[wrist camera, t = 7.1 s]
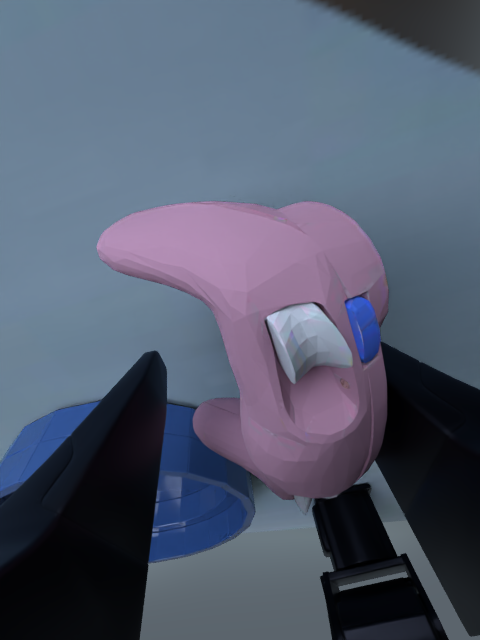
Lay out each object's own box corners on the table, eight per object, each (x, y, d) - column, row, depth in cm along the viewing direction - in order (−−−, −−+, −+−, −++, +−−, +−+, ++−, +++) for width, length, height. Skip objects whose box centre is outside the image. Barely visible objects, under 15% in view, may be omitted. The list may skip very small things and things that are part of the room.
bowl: (219, 371, 16) (223, 439, 12) (260, 486, 27) (268, 540, 23) (-54, 429, 17) (-127, 512, 13) (94, 519, 27) (76, 578, 24)
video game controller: (264, 375, 14) (386, 491, 9) (190, 424, 12) (286, 600, 7) (225, 172, 8) (510, 170, 3) (77, 216, 7) (151, 358, 2)
